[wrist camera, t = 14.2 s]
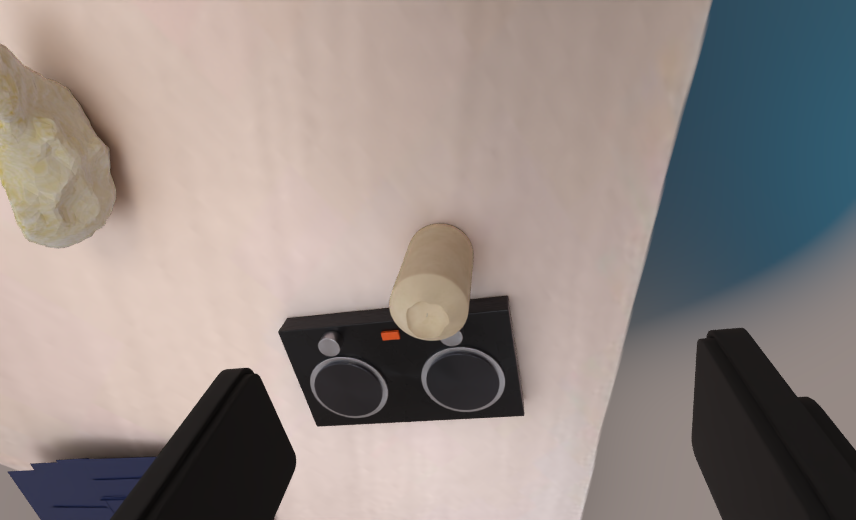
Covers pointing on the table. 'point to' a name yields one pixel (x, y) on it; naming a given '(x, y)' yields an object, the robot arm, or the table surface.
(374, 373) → the hot plate
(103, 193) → the cream lumpy piece
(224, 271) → the table surface
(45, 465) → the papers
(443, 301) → the candle
